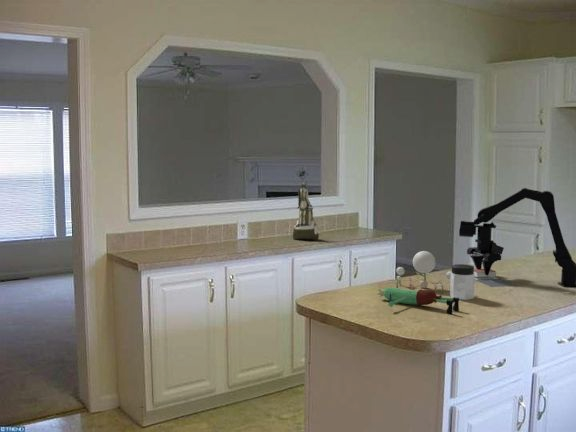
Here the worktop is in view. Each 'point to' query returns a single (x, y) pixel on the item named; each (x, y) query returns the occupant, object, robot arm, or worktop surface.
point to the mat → (493, 281)
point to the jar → (462, 282)
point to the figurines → (422, 269)
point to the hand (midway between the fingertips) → (483, 273)
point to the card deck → (483, 273)
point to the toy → (417, 297)
